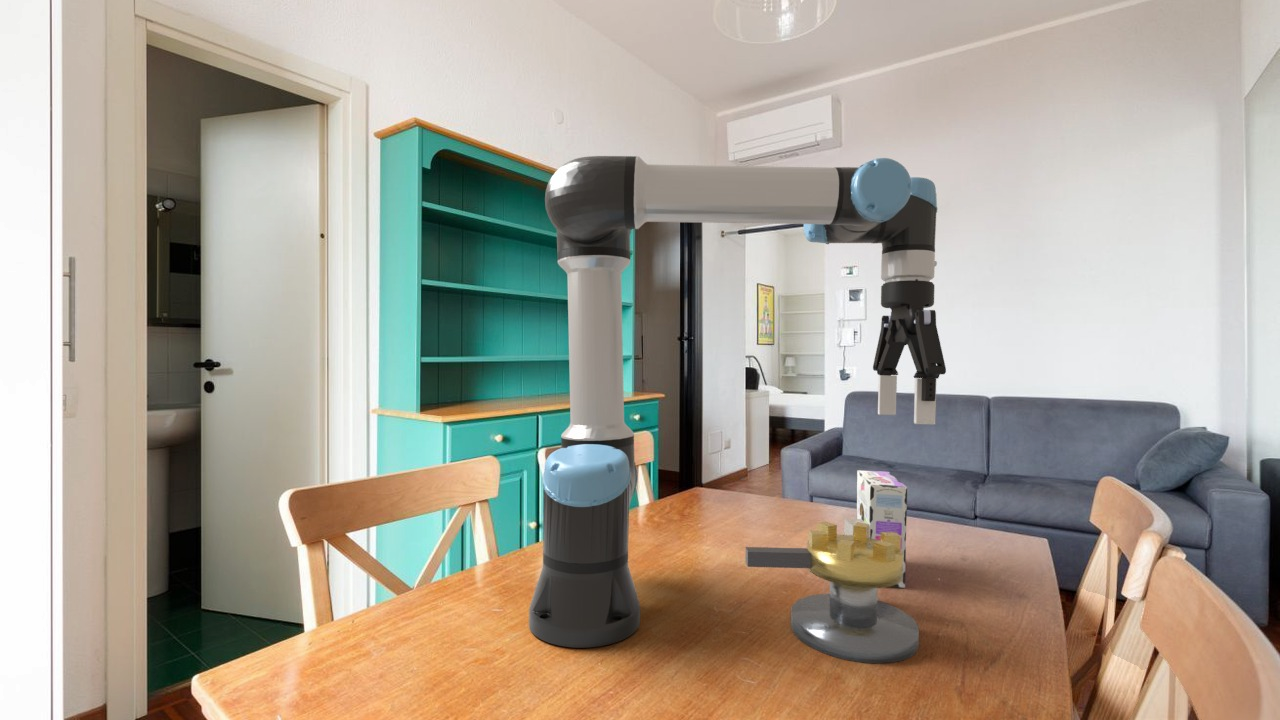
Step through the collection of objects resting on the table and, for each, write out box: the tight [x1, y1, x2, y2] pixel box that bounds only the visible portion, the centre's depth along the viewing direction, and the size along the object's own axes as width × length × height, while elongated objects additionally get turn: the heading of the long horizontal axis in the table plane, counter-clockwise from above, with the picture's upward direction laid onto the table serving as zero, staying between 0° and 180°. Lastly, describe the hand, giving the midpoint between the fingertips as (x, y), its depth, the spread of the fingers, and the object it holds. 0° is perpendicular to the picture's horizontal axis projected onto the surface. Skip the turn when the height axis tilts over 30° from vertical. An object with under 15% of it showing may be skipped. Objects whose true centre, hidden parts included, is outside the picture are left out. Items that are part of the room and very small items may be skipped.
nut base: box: [790, 518, 920, 664], centre depth 81 cm, size 16×20×12 cm
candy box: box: [856, 470, 908, 589], centre depth 102 cm, size 14×6×16 cm, turn 168°
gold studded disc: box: [744, 521, 903, 589], centre depth 80 cm, size 20×12×5 cm, turn 88°
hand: (904, 419), depth 92 cm, fingers open, 13 cm apart
